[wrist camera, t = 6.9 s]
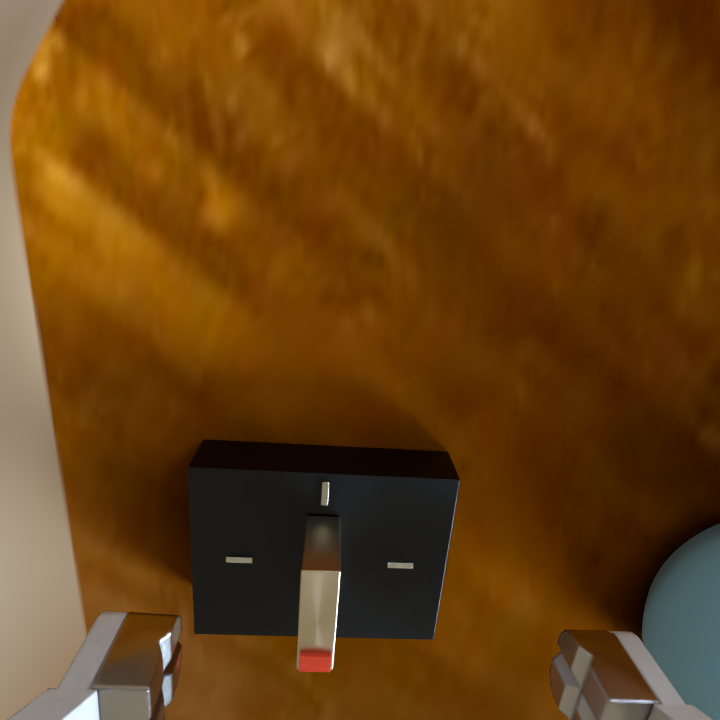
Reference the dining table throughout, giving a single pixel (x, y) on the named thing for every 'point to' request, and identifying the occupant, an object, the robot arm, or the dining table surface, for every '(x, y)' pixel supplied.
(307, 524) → the turn handle
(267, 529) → the rod panel
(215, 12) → the dining table surface
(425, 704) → the dining table surface
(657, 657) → the sugar bowl
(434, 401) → the dining table surface
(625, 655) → the robot arm
